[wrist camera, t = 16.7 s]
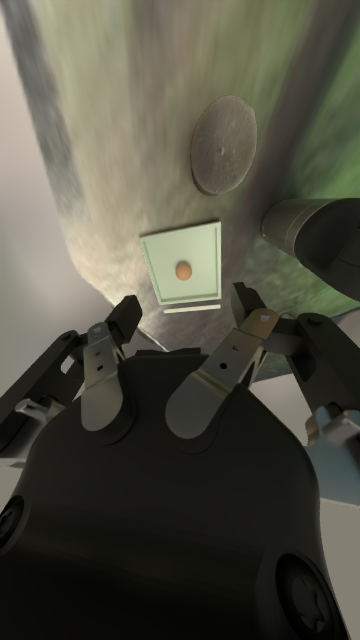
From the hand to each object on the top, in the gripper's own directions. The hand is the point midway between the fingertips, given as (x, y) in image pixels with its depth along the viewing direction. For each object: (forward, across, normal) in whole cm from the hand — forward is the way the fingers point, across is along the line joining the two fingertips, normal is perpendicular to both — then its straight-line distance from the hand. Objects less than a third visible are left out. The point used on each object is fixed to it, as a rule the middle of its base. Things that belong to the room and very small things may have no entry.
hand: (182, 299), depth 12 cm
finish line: (+36, +4, +26) cm, 45 cm away
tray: (+36, +4, +10) cm, 38 cm away
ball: (+32, +4, +10) cm, 34 cm away
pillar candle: (+36, -6, -11) cm, 38 cm away
